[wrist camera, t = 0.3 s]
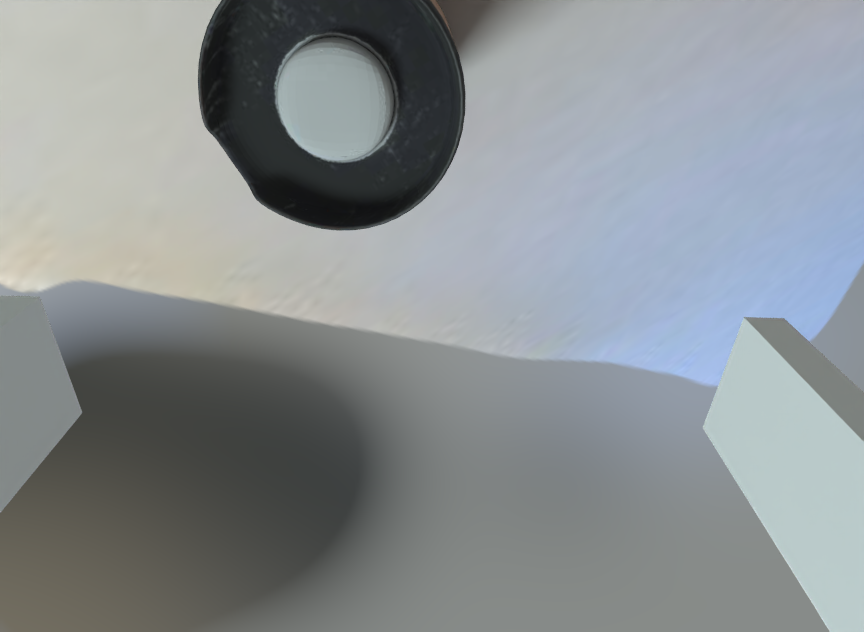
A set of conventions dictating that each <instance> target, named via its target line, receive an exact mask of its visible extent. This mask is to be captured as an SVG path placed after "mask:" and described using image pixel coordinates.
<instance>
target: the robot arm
mask: <svg viewBox="0 0 864 632" xmlns="http://www.w3.org/2000/svg"><path fill="white" fill-rule="evenodd" d="M81 414H82V411H81V408H80V405H79V403H78V400H77V397H76V394H75V392H74V389H73V386H72V383H71V381H70V378H69V375H68V372H67V370H66V367H65V364H64V362H63V359H62V356H61V353H60V351H59V348H58V345H57V342H56V340H55V337H54V334H53V332H52V329H51V326H50V323H49V321H48V318H47V315H46V313H45V310H44V307H43V304H42V302H41V299H40V297H30V296H0V512H1V511H2V510H3V509H4V508H5V506H6V505H7V504H8V503H9V501H10V500H11V499H12V497H14V495H15V494H16V493H17V492H18V490H19V489H20V488H21V487H22V486H23V484H24V483H25V482H26V481H27V479H28V478H29V477H30V476H31V475H32V473H33V472H34V471H35V470H36V468H37V467H38V466H39V465H40V463H41V462H42V461H43V460H44V459H45V458H46V456H47V455H48V454H49V453H50V451H51V450H52V449H53V448H54V447H55V445H56V444H57V443H58V442H59V440H60V439H61V438H62V437H63V436H64V434H65V433H66V432H67V431H68V429H69V428H70V427H71V426H72V425H73V423H74V422H75V421H76V420H77V418H78V417H79V416H80V415H81ZM703 429H704V431H705V432H706V434H707V436H708V437H709V439H710V440H711V442H712V444H713V445H714V447H715V448H716V450H717V452H718V453H719V455H720V456H721V458H722V460H723V461H724V463H725V464H726V466H727V468H728V469H729V471H730V472H731V474H732V476H733V477H734V479H735V480H736V482H737V484H738V485H739V487H740V488H741V490H742V492H743V493H744V495H745V496H746V498H747V500H748V501H749V503H750V504H751V506H752V508H753V509H754V511H755V512H756V514H757V516H758V517H759V519H760V520H761V522H762V524H763V525H764V527H765V528H766V530H767V532H768V533H769V535H770V536H771V538H772V539H773V541H774V543H775V544H776V546H777V548H778V549H779V551H780V552H781V554H782V556H783V557H784V559H785V561H786V562H787V564H788V565H789V567H790V568H791V570H792V572H793V573H794V574H795V576H796V578H797V580H798V581H799V583H800V585H801V586H802V588H803V589H804V591H805V593H806V594H807V596H808V597H809V599H810V601H811V602H812V603H813V605H814V607H815V608H816V610H817V612H818V613H819V615H820V616H821V618H822V620H823V621H824V623H825V625H826V626H827V628H828V629H829V631H830V632H864V392H863V391H861V389H859V388H858V387H857V386H856V385H855V384H854V383H853V382H852V381H851V380H849V378H848V377H847V376H845V375H844V374H843V373H842V372H841V371H840V370H839V369H838V368H837V367H836V366H835V365H834V364H832V363H831V362H830V361H829V360H828V359H827V358H826V357H825V356H824V355H823V354H822V353H821V352H819V351H818V350H817V349H816V348H815V347H814V346H813V345H812V344H811V343H810V342H809V341H808V340H807V339H806V338H804V337H803V336H802V335H801V334H800V333H799V332H798V331H797V330H796V329H795V328H794V327H793V326H792V325H790V324H789V323H788V322H787V321H786V320H785V319H784V318H752V317H744V319H743V321H742V324H741V327H740V329H739V332H738V335H737V337H736V340H735V343H734V345H733V348H732V351H731V354H730V356H729V359H728V362H727V364H726V367H725V370H724V372H723V375H722V378H721V380H720V383H719V386H718V388H717V391H716V394H715V396H714V399H713V402H712V405H711V407H710V410H709V412H708V415H707V418H706V420H705V423H704V426H703Z"/></svg>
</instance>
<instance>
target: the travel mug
mask: <svg viewBox="0 0 864 632" xmlns="http://www.w3.org/2000/svg"><path fill="white" fill-rule="evenodd" d="M198 90H199V102H200V109H201V114H202V119H203V122H204V124H205V127H206V128H207V130H208V131H209V132H210V133H211V134H212V135H213V136H214V137H215V138H216V139H217V141H218V142H219V144H220V145H221V146H222V148H223V149H224V151H225V152H226V154H227V155H228V156H229V158H230V159H231V161H232V162H233V164H234V165H235V166H236V168H237V169H238V171H239V172H240V173H241V175H242V176H243V178H244V179H245V181H246V182H247V184H248V185H249V187H250V189H251V191H252V193H253V195H254V197H255V198H256V200H257V201H259V202H260V203H261V204H262V205H264V206H265V207H267V208H268V209H270V210H272V211H274V212H276V213H278V214H279V215H282V216H284V217H286V218H288V219H291V220H293V221H296V222H299V223H302V224H305V225H308V226H312V227H317V228H321V229H329V230H358V229H365V228H370V227H374V226H377V225H381V224H384V223H387V222H389V221H391V220H394V219H396V218H398V217H400V216H401V215H403V214H405V213H407V212H408V211H410V210H411V209H413V208H414V207H415V206H417V205H418V204H419V203H420V202H422V201H423V200H424V199H425V198H426V197H427V196H428V195H429V194H430V193H431V192H432V191H433V190H434V188H435V187H436V186H437V184H438V183H439V182H440V181H441V179H442V178H443V176H444V175H445V173H446V171H447V169H448V168H449V166H450V164H451V162H452V160H453V158H454V155H455V153H456V150H457V148H458V145H459V141H460V138H461V134H462V130H463V123H464V116H465V85H464V76H463V71H462V67H461V63H460V59H459V55H458V52H457V49H456V46H455V43H454V40H453V37H452V34H451V31H450V28H449V26H448V23H447V20H446V18H445V16H444V14H443V12H442V10H441V8H440V6H439V5H438V3H437V2H436V0H222V1H221V2H220V4H219V5H218V7H217V8H216V10H215V12H214V14H213V16H212V18H211V20H210V22H209V24H208V27H207V30H206V33H205V36H204V39H203V43H202V47H201V53H200V59H199V69H198Z"/></svg>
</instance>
